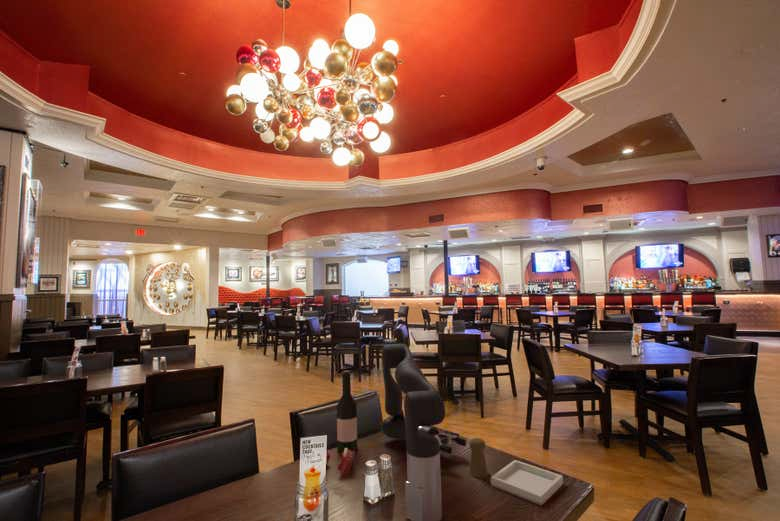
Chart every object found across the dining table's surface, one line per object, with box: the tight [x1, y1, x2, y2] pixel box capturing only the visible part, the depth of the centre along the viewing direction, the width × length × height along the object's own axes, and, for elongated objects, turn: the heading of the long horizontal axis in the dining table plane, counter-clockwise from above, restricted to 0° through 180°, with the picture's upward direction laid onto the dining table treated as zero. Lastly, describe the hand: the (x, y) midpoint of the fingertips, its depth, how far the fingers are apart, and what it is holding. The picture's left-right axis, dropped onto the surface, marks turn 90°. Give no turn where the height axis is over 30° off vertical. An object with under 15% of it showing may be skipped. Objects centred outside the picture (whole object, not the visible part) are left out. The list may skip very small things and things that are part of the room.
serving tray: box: [490, 459, 564, 507], centre depth 116 cm, size 16×16×2 cm
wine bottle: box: [336, 370, 358, 454], centre depth 146 cm, size 8×8×30 cm
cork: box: [468, 437, 489, 479], centre depth 124 cm, size 6×6×11 cm
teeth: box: [327, 448, 356, 478], centre depth 128 cm, size 10×8×15 cm
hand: (458, 446), depth 129 cm, fingers open, 8 cm apart
